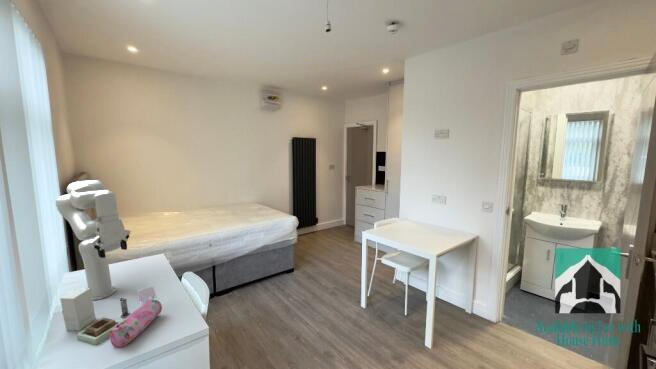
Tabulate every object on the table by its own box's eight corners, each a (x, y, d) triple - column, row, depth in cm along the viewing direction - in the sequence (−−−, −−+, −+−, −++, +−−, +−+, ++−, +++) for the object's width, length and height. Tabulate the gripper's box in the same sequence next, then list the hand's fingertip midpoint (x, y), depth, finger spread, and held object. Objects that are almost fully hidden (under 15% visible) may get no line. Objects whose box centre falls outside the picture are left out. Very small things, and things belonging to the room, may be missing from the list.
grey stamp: (118, 317, 123) (116, 300, 121) (126, 312, 126) (124, 296, 125) (124, 318, 122) (121, 301, 120) (132, 314, 125) (129, 297, 124)
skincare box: (83, 318, 123) (77, 287, 120) (97, 318, 122) (91, 287, 120) (65, 331, 114) (58, 297, 112) (79, 331, 114) (73, 297, 112)
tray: (77, 339, 109) (76, 334, 108) (106, 322, 119) (105, 317, 119) (95, 345, 106) (94, 339, 105) (124, 327, 116) (123, 321, 116)
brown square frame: (97, 338, 108) (96, 331, 107) (85, 335, 110) (84, 327, 109) (115, 327, 115) (114, 320, 114) (104, 324, 117) (103, 317, 116)
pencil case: (128, 349, 103) (125, 328, 102) (106, 349, 103) (102, 328, 102) (165, 314, 124) (163, 297, 123) (146, 314, 125) (144, 296, 123)
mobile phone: (153, 285, 149) (156, 297, 137) (153, 287, 149) (156, 299, 138) (137, 290, 145) (138, 303, 133) (137, 292, 145) (138, 304, 133)
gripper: (92, 224, 114) (98, 261, 117) (132, 214, 130) (137, 247, 133) (81, 223, 116) (87, 260, 119) (121, 213, 133) (126, 245, 135)
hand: (113, 253), depth 126 cm, fingers open, 9 cm apart
